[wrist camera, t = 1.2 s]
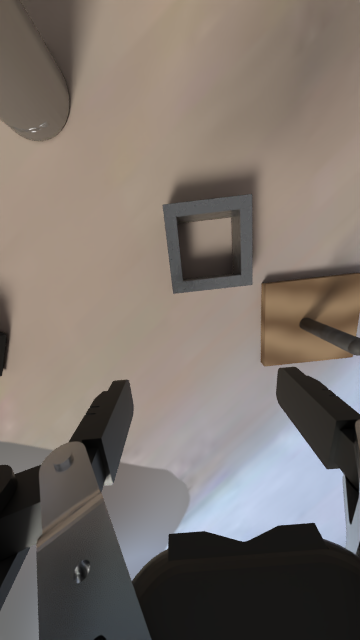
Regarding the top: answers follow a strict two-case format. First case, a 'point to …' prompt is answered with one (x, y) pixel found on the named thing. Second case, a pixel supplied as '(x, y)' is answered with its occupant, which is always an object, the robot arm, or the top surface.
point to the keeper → (310, 319)
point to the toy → (2, 350)
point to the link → (241, 240)
